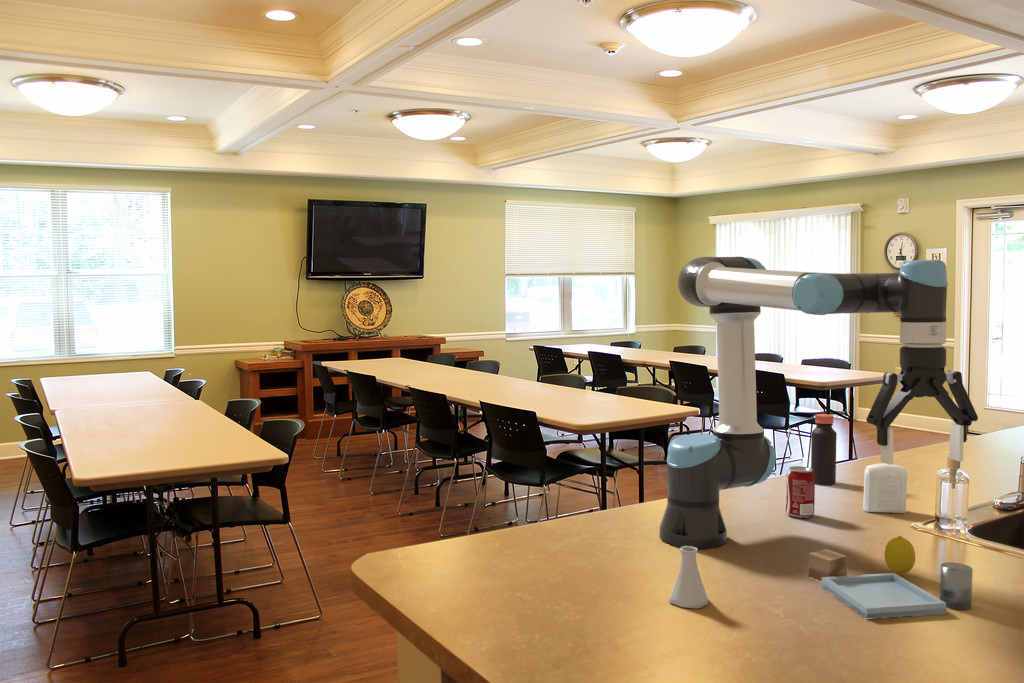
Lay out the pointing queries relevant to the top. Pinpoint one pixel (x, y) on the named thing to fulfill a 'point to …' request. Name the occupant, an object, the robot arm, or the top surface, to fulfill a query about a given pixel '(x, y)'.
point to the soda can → (800, 492)
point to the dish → (883, 595)
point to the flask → (688, 582)
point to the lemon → (899, 555)
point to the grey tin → (956, 585)
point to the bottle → (823, 450)
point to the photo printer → (885, 488)
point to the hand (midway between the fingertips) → (921, 461)
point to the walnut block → (827, 564)
